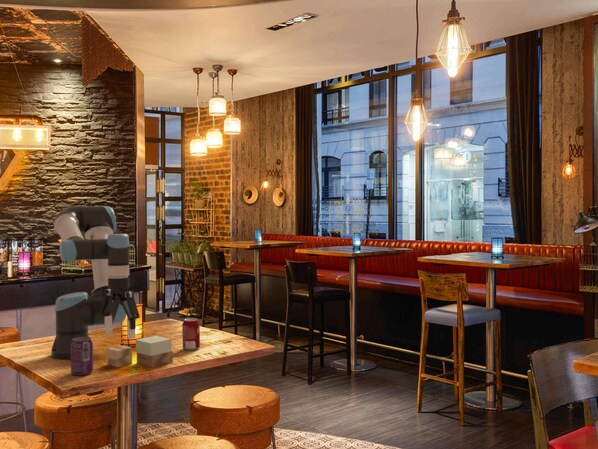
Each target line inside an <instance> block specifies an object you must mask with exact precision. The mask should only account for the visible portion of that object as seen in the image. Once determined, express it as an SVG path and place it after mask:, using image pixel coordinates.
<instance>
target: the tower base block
mask: <svg viewBox="0 0 598 449" xmlns="http://www.w3.org/2000/svg"><path fill="white" fill-rule="evenodd" d="M173 362H174V360H173V350H172V351H171V352H167V353H162V354H158V355H153V356H149V355H145V354H141V353H137V352H136V364H137V365H140V364H141V366H144V367H147V368H153V369H154V368H158V367H161V366H164V365H168V364H172V363H173Z"/></svg>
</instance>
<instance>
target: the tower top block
mask: <svg viewBox="0 0 598 449" xmlns="http://www.w3.org/2000/svg"><path fill="white" fill-rule="evenodd" d="M171 351H172V352H173V350H172V338H168V337H165V336H164V337H163V336H161V335H160V336H159V335H154V336H153V335H152V336H148V337H141V338H137V339H135V353H136V354H137V353H141V354H145V355H149V356H153V355H158V354H162V353H167V352H171Z"/></svg>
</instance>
